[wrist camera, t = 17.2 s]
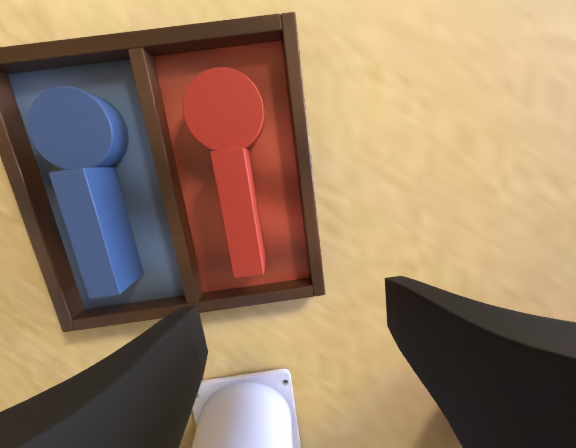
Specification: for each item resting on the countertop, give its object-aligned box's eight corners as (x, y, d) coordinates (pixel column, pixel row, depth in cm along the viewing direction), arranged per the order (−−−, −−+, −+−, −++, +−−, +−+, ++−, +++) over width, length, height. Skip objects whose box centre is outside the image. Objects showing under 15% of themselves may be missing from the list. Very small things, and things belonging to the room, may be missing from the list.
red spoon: (284, 254, 19) (286, 271, 16) (220, 263, 19) (211, 282, 16) (259, 72, 16) (255, 52, 13) (185, 81, 16) (165, 64, 13)
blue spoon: (163, 271, 19) (142, 291, 16) (98, 280, 19) (65, 302, 16) (118, 89, 16) (84, 73, 13) (42, 99, 16) (-9, 85, 13)
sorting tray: (320, 281, 20) (325, 295, 18) (84, 315, 20) (62, 332, 18) (292, 29, 17) (295, 11, 15) (1, 65, 16) (-38, 51, 14)
